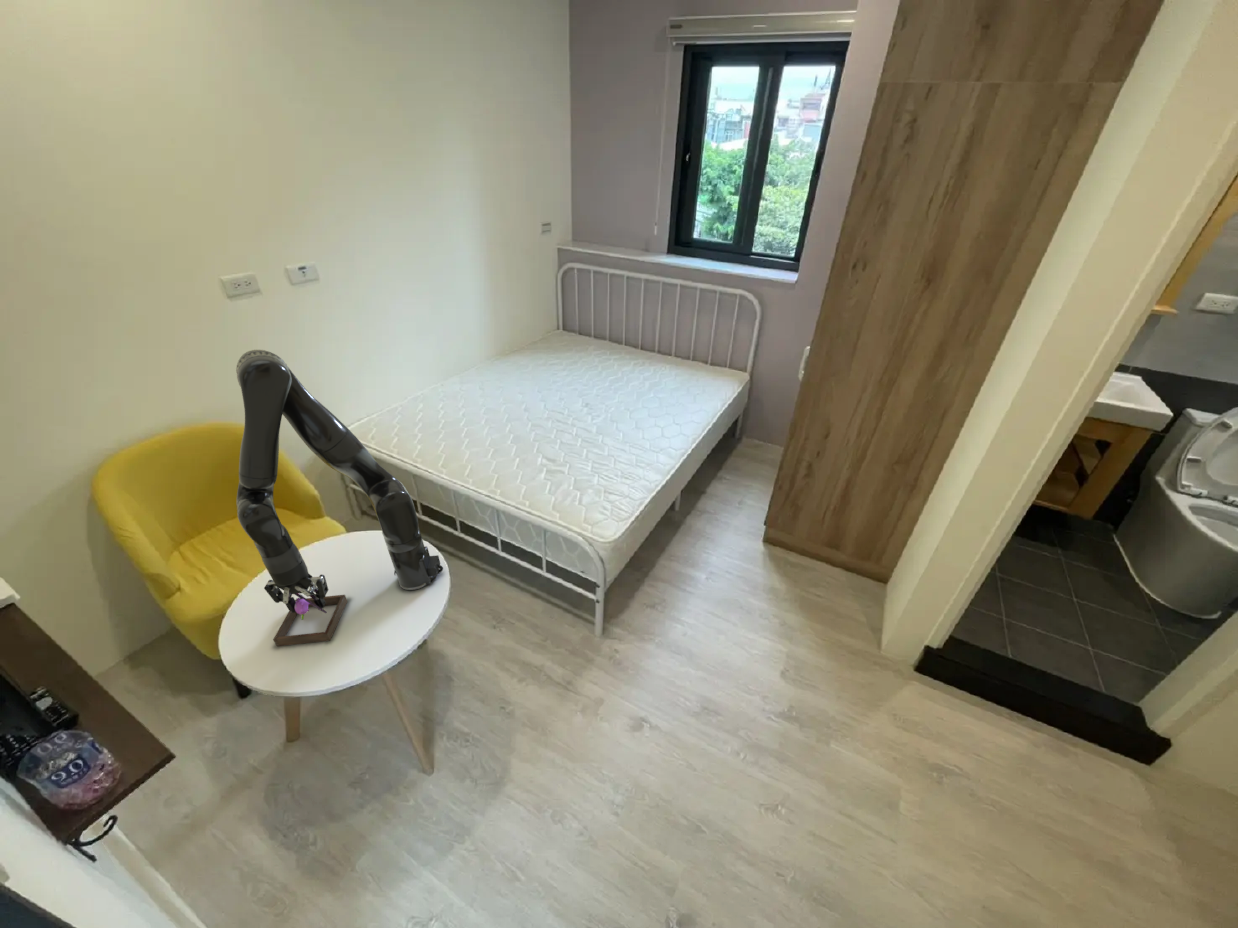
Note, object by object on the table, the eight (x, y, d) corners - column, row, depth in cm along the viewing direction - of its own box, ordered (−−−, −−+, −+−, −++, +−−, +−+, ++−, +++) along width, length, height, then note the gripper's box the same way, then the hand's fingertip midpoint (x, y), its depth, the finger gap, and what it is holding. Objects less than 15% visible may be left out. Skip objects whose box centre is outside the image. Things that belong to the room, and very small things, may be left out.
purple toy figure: (313, 598, 129) (291, 586, 133) (297, 617, 126) (276, 604, 130) (329, 609, 134) (308, 597, 138) (314, 627, 131) (293, 614, 135)
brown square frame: (347, 601, 142) (344, 594, 141) (330, 640, 131) (327, 633, 130) (298, 605, 141) (295, 599, 140) (276, 646, 130) (272, 639, 128)
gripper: (245, 576, 121) (273, 623, 130) (308, 569, 122) (332, 616, 131) (260, 554, 127) (286, 601, 136) (320, 548, 128) (341, 594, 137)
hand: (308, 608), depth 133 cm, fingers closed on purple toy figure, 6 cm apart
